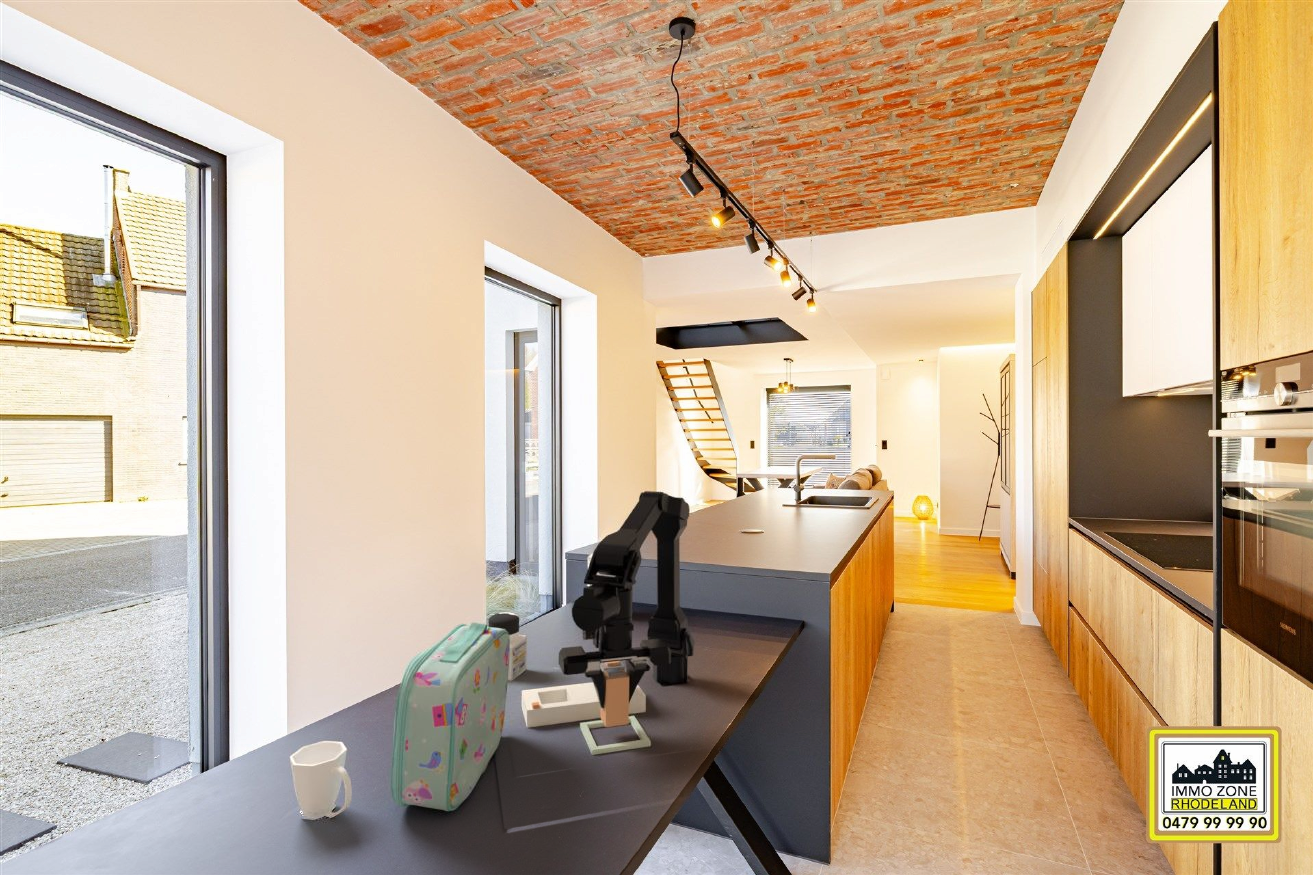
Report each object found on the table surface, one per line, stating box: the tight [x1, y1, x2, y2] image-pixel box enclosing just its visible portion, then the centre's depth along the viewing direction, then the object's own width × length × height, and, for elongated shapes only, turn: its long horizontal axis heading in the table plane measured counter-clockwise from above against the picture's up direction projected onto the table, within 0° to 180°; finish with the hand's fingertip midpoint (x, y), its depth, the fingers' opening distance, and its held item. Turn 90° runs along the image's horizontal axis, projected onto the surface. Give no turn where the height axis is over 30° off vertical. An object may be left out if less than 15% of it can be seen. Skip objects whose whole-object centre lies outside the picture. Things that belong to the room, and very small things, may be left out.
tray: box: [579, 715, 652, 756], centre depth 106 cm, size 10×10×1 cm
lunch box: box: [390, 622, 510, 812], centre depth 95 cm, size 27×10×21 cm, turn 178°
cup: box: [289, 740, 353, 819], centre depth 84 cm, size 7×10×8 cm
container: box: [487, 611, 528, 681], centre depth 134 cm, size 8×8×13 cm
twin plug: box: [600, 661, 626, 672], centre depth 118 cm, size 4×4×9 cm
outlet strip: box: [521, 681, 647, 728], centre depth 116 cm, size 22×9×4 cm, turn 108°
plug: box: [600, 667, 630, 728], centre depth 106 cm, size 4×4×9 cm
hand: (614, 705), depth 106 cm, fingers closed on plug, 4 cm apart
